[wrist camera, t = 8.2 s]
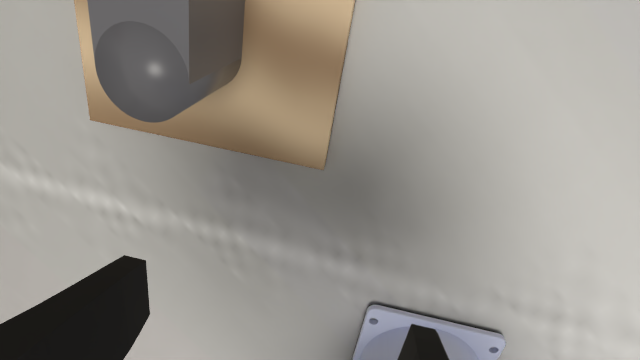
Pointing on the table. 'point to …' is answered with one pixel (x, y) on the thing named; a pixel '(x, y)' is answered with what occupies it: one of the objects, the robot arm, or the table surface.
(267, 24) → the cork coaster
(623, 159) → the table surface
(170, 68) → the usb plug
